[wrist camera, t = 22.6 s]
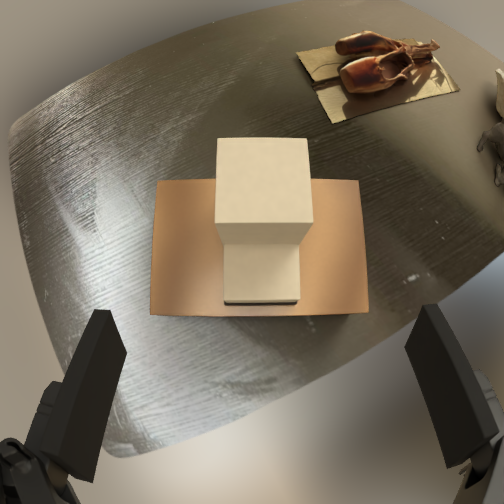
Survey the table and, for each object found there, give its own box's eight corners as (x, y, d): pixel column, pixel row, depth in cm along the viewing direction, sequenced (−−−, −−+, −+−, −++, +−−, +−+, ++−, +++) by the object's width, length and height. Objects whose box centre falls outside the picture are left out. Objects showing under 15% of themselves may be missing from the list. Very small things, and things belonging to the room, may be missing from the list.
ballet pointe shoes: (287, 27, 35) (426, 13, 38) (284, 60, 42) (415, 37, 44) (344, 93, 32) (478, 67, 35) (333, 125, 39) (461, 90, 41)
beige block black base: (226, 188, 31) (216, 132, 21) (291, 188, 31) (307, 132, 21) (224, 305, 28) (211, 298, 19) (295, 304, 28) (318, 297, 19)
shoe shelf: (166, 315, 34) (149, 314, 28) (170, 201, 37) (157, 180, 31) (349, 313, 34) (368, 312, 28) (343, 201, 37) (358, 180, 31)
